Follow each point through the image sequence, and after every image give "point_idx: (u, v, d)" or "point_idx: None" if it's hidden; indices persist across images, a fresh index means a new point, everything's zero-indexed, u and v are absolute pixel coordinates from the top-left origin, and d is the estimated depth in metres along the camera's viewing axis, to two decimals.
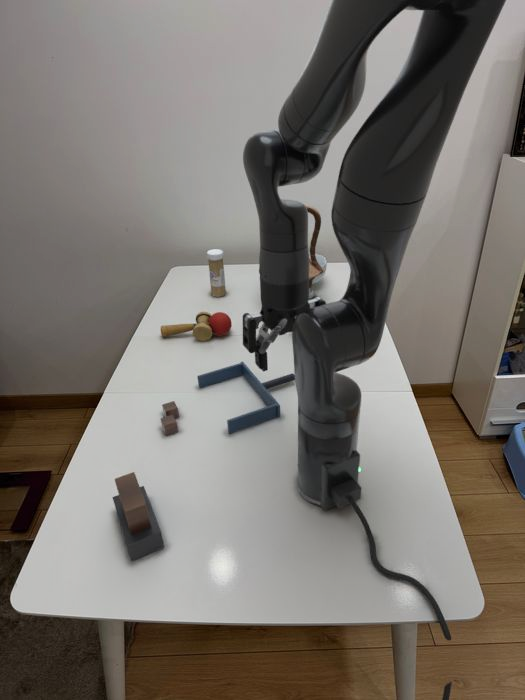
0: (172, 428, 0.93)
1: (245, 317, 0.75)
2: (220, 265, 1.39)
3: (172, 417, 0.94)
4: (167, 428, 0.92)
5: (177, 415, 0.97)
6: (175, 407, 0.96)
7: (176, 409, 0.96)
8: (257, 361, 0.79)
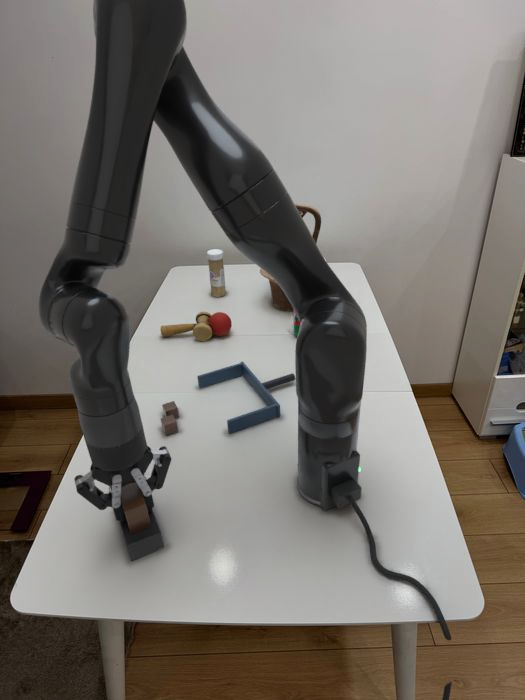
0: (172, 428, 0.93)
1: (75, 483, 0.66)
2: (220, 265, 1.39)
3: (172, 417, 0.94)
4: (167, 428, 0.92)
5: (177, 415, 0.97)
6: (175, 407, 0.96)
7: (176, 409, 0.96)
8: None
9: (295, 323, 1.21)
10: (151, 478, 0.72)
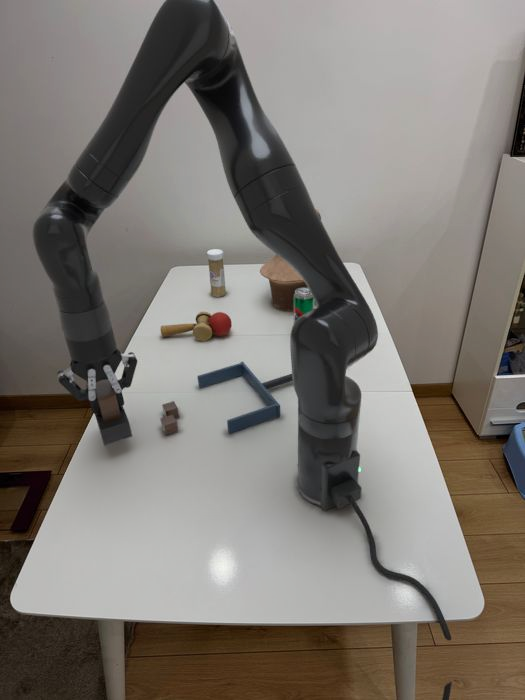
0: (172, 428, 0.93)
1: None
2: (220, 265, 1.39)
3: (172, 417, 0.94)
4: (167, 428, 0.92)
5: (177, 415, 0.97)
6: (175, 407, 0.96)
7: (176, 409, 0.96)
8: (91, 407, 0.87)
9: None
10: (121, 379, 0.87)
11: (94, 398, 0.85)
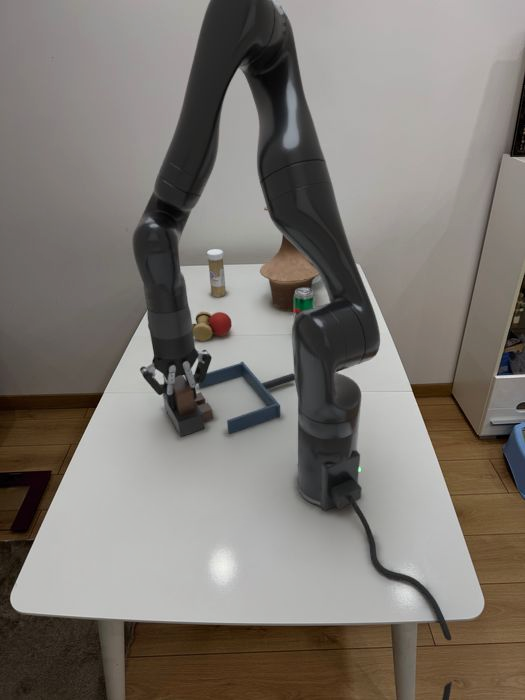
0: (208, 416, 0.96)
1: (141, 372, 0.88)
2: (220, 265, 1.39)
3: (207, 405, 0.97)
4: (203, 415, 0.95)
5: None
6: (202, 398, 0.99)
7: (203, 400, 0.99)
8: (167, 400, 0.93)
9: None
10: (195, 375, 0.94)
11: (172, 392, 0.91)
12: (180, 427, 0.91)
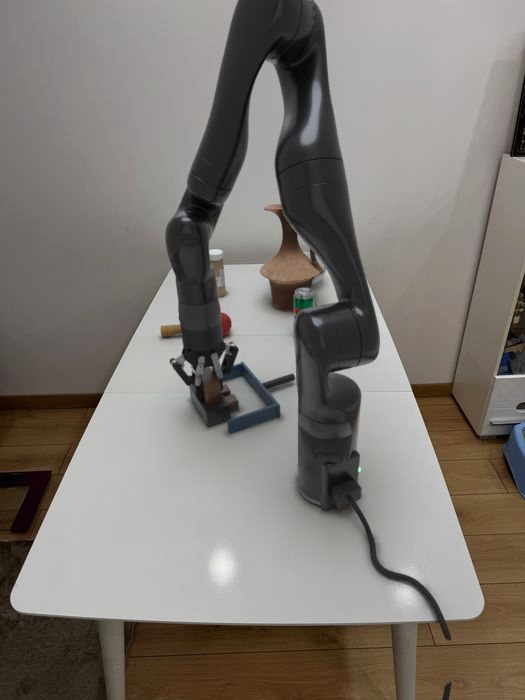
0: (234, 407, 0.98)
1: None
2: (220, 265, 1.39)
3: (233, 396, 0.99)
4: None
5: None
6: (228, 389, 1.01)
7: (229, 391, 1.01)
8: (195, 391, 0.95)
9: None
10: (222, 366, 0.96)
11: (200, 383, 0.94)
12: (208, 417, 0.94)
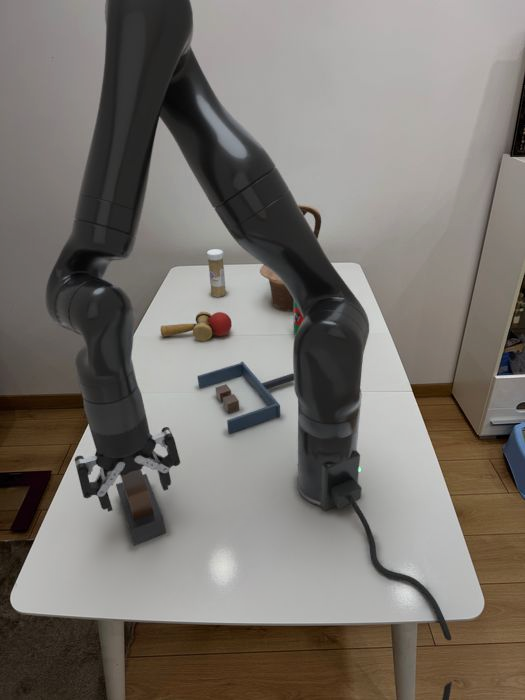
0: (234, 407, 0.98)
1: (76, 462, 0.67)
2: (220, 265, 1.39)
3: (234, 396, 0.99)
4: (230, 406, 0.97)
5: None
6: (228, 389, 1.01)
7: (229, 391, 1.01)
8: None
9: (295, 323, 1.21)
10: (168, 456, 0.74)
11: (104, 493, 0.70)
12: (133, 535, 0.72)
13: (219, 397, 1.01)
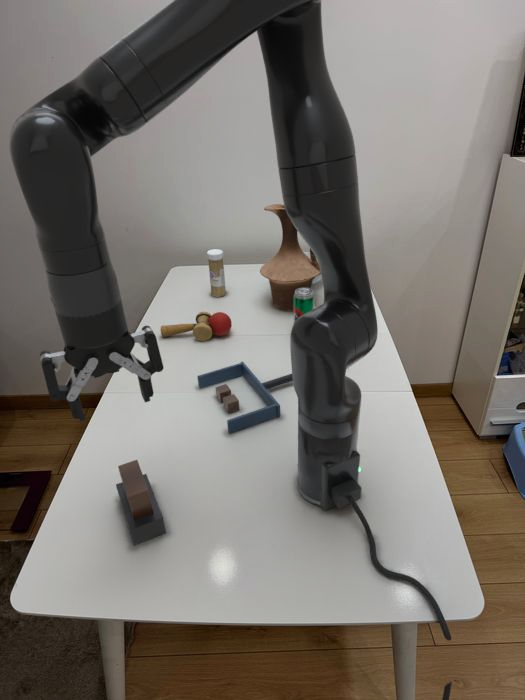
0: (234, 407, 0.98)
1: (40, 356, 0.58)
2: (220, 265, 1.39)
3: (234, 396, 0.99)
4: (230, 406, 0.97)
5: None
6: (228, 389, 1.01)
7: (229, 391, 1.01)
8: (70, 409, 0.62)
9: None
10: (150, 361, 0.65)
11: (75, 397, 0.61)
12: (133, 535, 0.72)
13: (219, 397, 1.01)
